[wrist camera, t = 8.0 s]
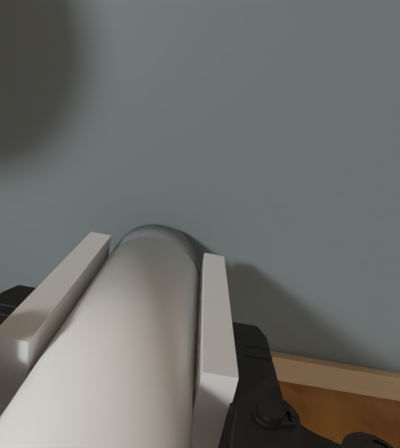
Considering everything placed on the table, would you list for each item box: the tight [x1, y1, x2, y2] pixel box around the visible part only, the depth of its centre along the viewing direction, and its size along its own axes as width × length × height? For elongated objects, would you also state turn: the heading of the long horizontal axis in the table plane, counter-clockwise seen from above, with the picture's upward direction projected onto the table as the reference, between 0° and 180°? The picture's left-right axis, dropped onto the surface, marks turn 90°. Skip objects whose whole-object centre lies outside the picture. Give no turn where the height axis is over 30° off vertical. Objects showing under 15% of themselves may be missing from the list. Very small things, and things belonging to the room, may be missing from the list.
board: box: [0, 0, 400, 401], centre depth 15 cm, size 22×17×1 cm
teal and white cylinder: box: [0, 224, 200, 448], centre depth 9 cm, size 4×4×12 cm
